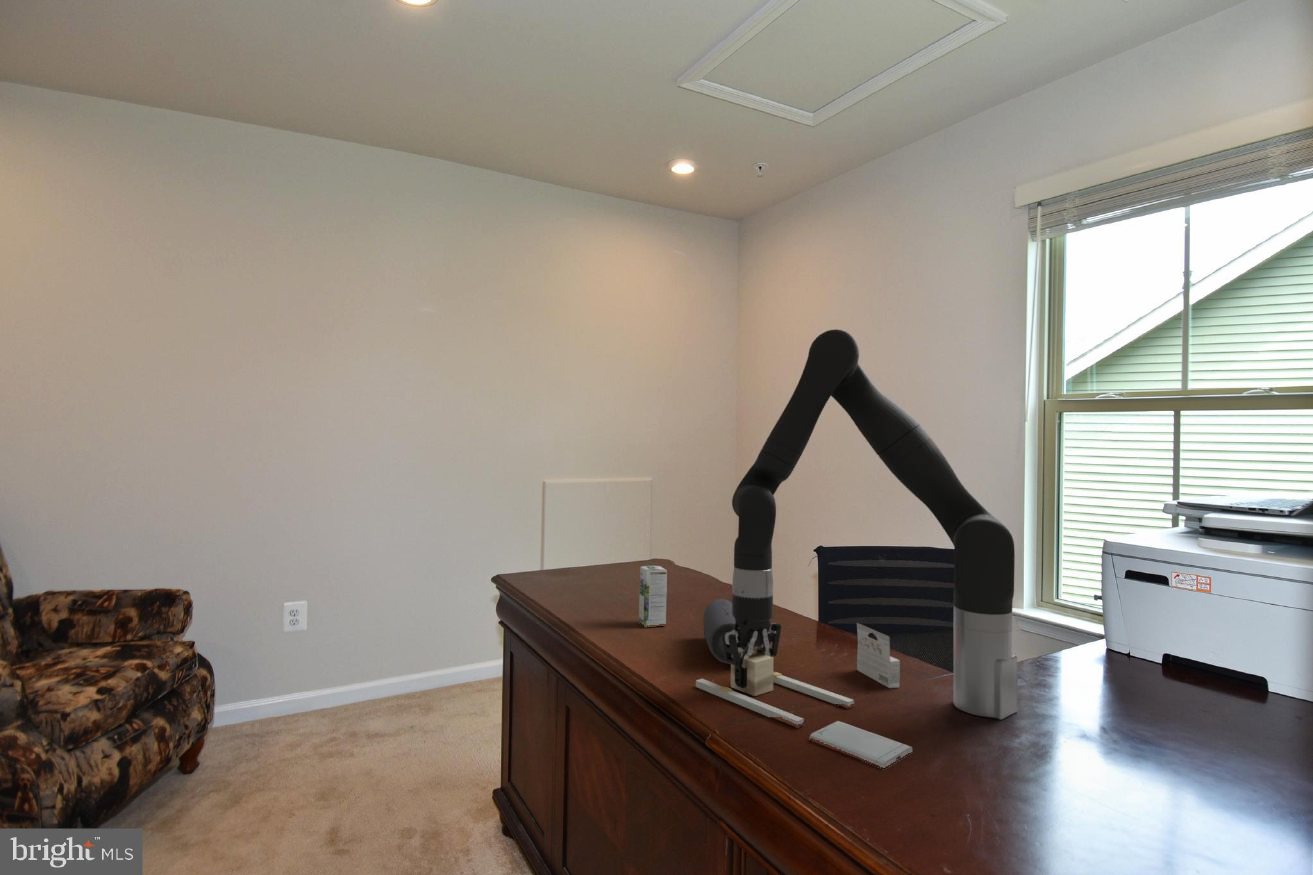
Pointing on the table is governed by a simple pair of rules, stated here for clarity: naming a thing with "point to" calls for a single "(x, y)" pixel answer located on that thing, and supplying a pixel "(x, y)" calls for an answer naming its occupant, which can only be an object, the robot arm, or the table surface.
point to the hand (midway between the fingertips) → (751, 683)
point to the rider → (756, 674)
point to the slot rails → (768, 709)
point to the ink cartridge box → (877, 657)
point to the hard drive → (862, 743)
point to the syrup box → (652, 595)
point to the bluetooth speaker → (718, 626)
